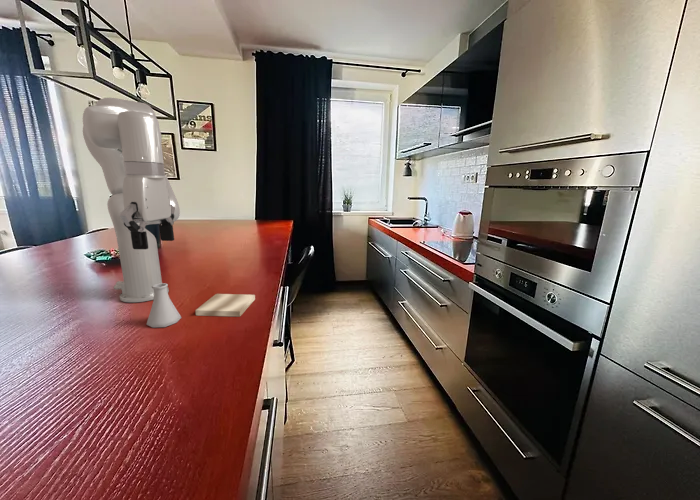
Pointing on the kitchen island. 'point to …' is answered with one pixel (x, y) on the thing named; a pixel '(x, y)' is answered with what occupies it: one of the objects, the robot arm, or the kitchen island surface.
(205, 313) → the birch board
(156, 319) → the flask
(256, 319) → the kitchen island surface
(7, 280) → the kitchen island surface
